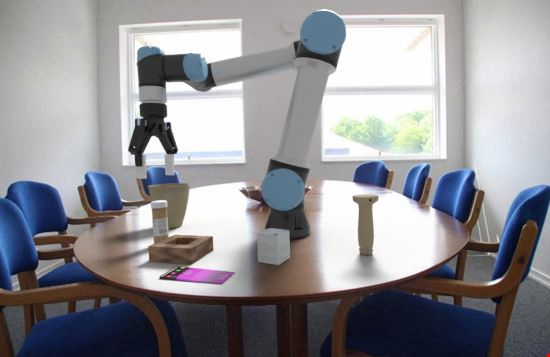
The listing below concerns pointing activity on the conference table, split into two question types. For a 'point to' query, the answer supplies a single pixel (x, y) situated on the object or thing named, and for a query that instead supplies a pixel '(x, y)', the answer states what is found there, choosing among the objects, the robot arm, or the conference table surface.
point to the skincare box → (273, 246)
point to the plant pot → (172, 200)
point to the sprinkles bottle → (159, 220)
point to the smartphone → (197, 275)
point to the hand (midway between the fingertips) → (156, 176)
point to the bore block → (181, 249)
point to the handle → (365, 222)
